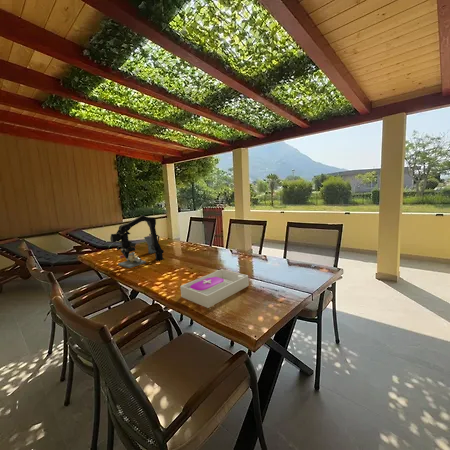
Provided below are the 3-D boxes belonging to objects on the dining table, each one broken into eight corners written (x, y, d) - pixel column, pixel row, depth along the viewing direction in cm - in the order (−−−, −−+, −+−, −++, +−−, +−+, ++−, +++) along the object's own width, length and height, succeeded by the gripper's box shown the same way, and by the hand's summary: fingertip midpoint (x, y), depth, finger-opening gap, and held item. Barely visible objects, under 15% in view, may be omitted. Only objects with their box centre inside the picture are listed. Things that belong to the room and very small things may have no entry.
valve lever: (133, 254, 212) (133, 252, 212) (135, 254, 211) (134, 252, 210) (119, 258, 202) (119, 255, 201) (121, 258, 200) (120, 256, 200)
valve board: (146, 262, 211) (145, 261, 211) (129, 268, 198) (129, 266, 198) (134, 260, 222) (134, 258, 221) (118, 265, 209) (117, 263, 209)
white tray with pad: (248, 286, 148) (248, 275, 147) (208, 308, 123) (207, 295, 122) (222, 279, 163) (221, 268, 162) (181, 297, 138) (180, 285, 137)
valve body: (142, 262, 208) (141, 255, 207) (137, 264, 204) (136, 256, 203) (130, 259, 219) (130, 252, 218) (125, 261, 215) (124, 254, 214)
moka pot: (144, 252, 249) (142, 233, 246) (159, 250, 255) (158, 232, 252) (146, 254, 240) (144, 235, 237) (161, 252, 247) (159, 233, 244)
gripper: (140, 239, 197) (142, 257, 199) (127, 237, 208) (129, 254, 210) (127, 242, 188) (130, 261, 191) (115, 240, 199) (117, 258, 202)
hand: (127, 258), depth 199 cm, fingers closed
